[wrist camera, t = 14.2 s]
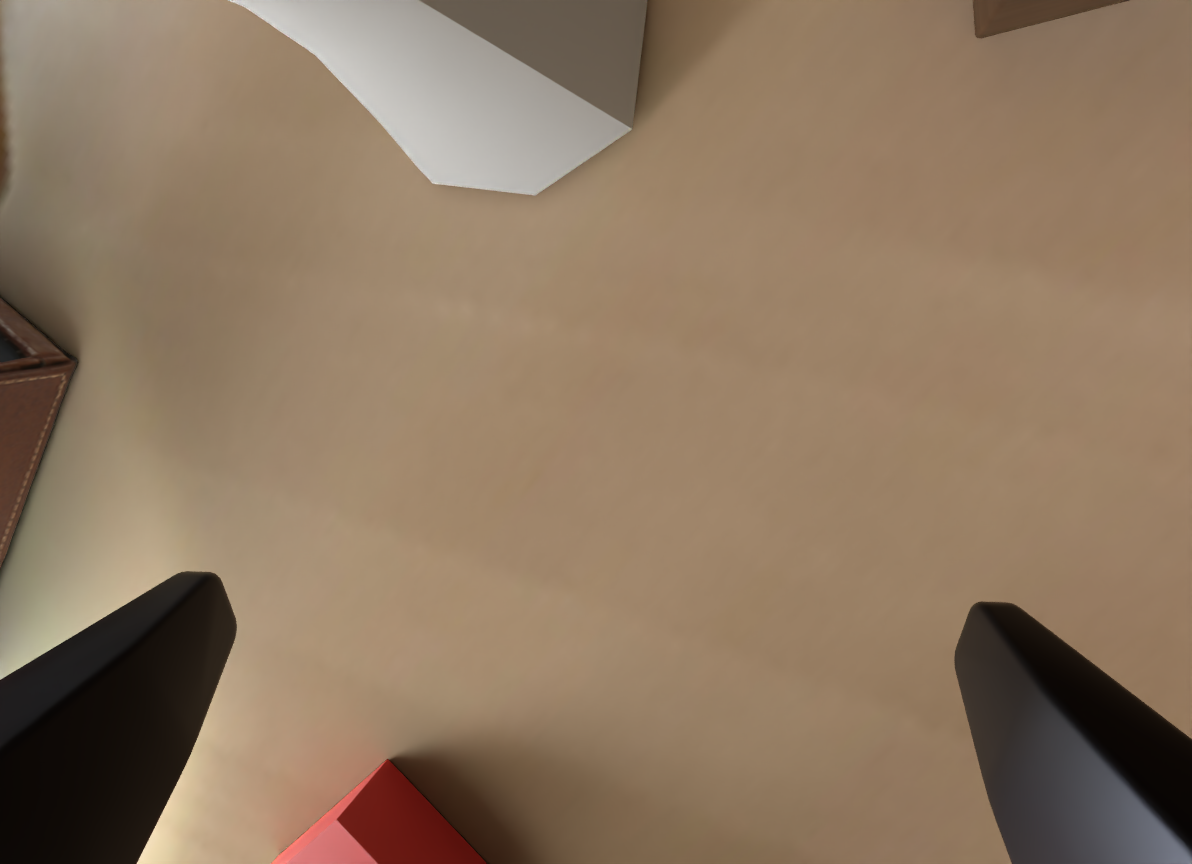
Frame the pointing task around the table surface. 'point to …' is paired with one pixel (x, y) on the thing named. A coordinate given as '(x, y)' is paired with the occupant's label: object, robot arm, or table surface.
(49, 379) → the letter holder
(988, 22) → the walnut divided tray
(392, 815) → the red slab
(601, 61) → the flask
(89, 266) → the table surface
